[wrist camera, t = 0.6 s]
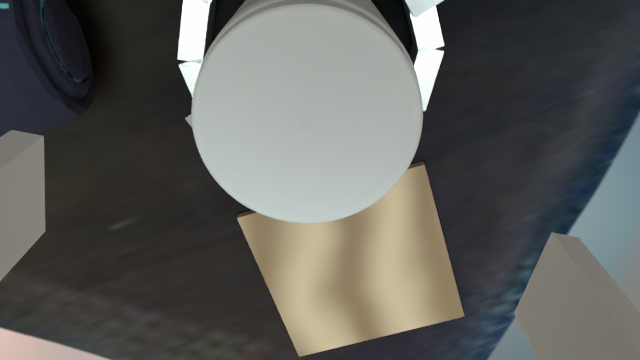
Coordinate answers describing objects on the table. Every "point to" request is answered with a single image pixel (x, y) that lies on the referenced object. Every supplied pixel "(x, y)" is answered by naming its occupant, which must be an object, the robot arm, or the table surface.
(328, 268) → the mat
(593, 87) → the table surface
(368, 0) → the supplement tub
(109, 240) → the table surface
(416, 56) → the collar
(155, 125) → the table surface
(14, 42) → the portable speaker
